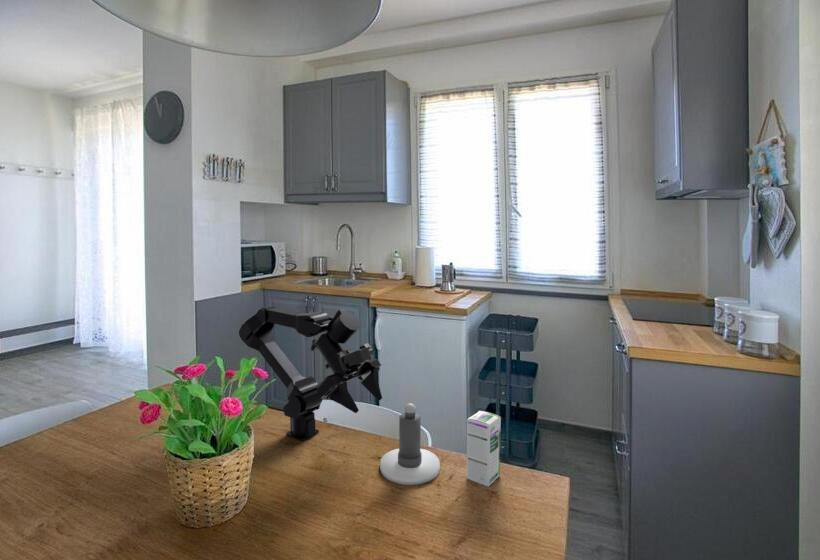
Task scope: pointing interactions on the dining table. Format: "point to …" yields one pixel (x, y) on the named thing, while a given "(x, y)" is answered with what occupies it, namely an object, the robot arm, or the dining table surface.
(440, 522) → the dining table surface
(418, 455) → the pepper mill
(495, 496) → the dining table surface
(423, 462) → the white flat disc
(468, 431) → the syrup box
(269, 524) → the dining table surface
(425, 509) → the dining table surface
